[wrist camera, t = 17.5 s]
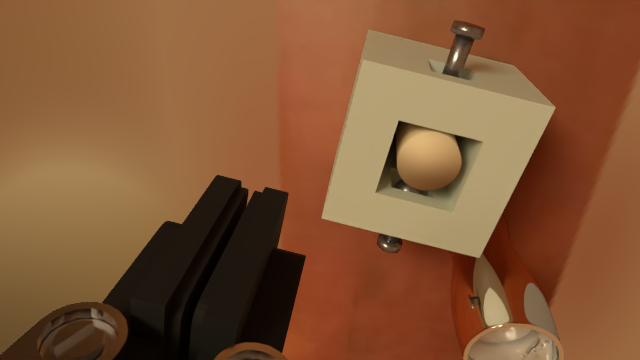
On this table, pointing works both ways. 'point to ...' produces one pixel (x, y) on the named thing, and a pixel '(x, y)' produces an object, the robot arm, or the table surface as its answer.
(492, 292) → the beer glass
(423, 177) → the peg
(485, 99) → the socket
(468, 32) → the plunger
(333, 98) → the table surface
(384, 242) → the plunger
